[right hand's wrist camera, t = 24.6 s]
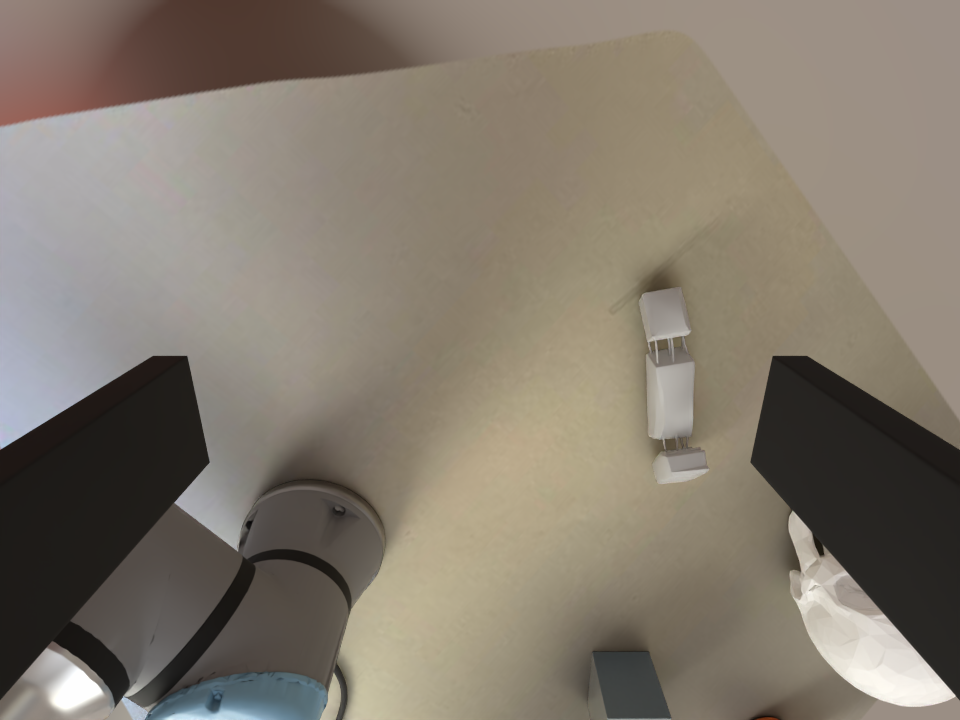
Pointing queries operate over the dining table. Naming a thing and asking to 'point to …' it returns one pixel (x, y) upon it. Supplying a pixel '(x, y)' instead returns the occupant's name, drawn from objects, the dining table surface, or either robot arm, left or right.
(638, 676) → the blue gray block
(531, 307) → the dining table surface
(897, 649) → the skull
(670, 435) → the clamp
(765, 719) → the cup with straw
